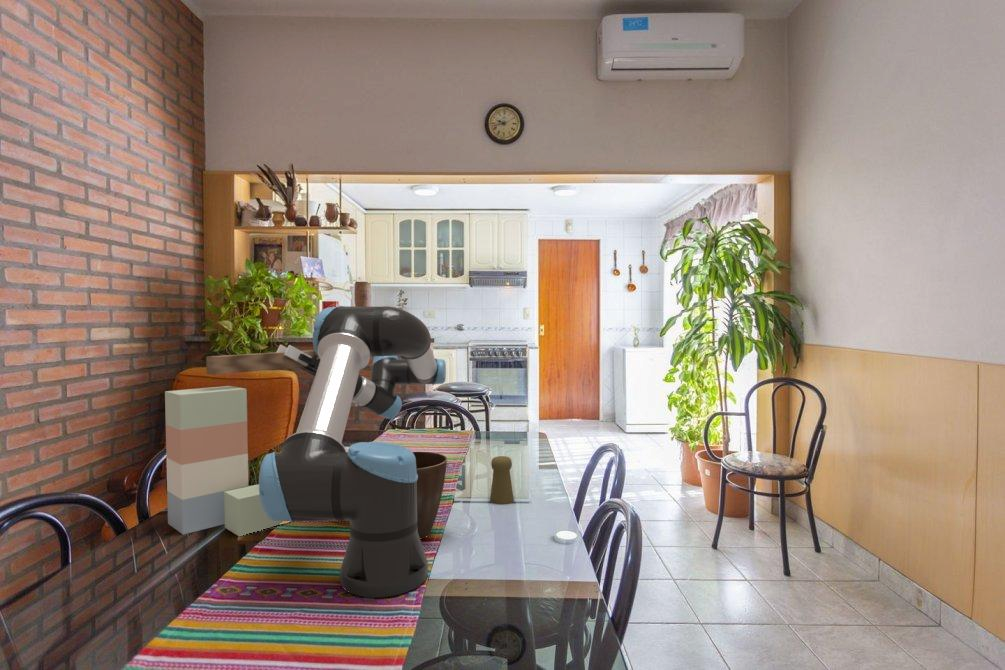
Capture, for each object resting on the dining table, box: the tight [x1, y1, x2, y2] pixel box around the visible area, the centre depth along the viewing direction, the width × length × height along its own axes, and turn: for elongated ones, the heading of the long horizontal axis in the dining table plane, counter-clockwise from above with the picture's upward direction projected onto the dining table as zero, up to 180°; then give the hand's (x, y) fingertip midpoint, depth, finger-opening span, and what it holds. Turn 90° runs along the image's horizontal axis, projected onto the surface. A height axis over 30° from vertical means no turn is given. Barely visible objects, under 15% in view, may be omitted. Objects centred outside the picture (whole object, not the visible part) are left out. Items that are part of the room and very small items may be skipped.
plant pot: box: [412, 451, 448, 539], centre depth 119 cm, size 15×15×16 cm
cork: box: [489, 455, 515, 505], centre depth 142 cm, size 6×6×11 cm
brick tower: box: [164, 385, 249, 535], centre depth 129 cm, size 14×10×30 cm
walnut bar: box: [205, 349, 320, 376], centre depth 138 cm, size 26×4×4 cm, turn 137°
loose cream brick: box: [224, 483, 283, 537], centre depth 126 cm, size 12×8×8 cm, turn 137°
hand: (282, 349), depth 141 cm, fingers closed on walnut bar, 4 cm apart
